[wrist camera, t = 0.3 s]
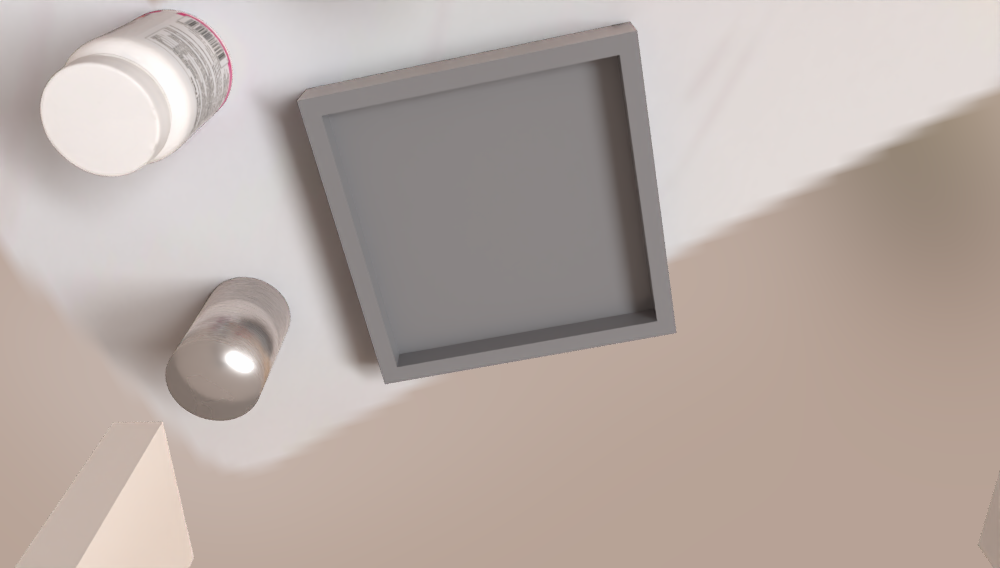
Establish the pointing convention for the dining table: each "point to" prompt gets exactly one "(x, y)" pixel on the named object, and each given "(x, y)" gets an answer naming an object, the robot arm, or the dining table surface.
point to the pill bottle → (136, 92)
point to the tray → (497, 203)
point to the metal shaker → (229, 350)
